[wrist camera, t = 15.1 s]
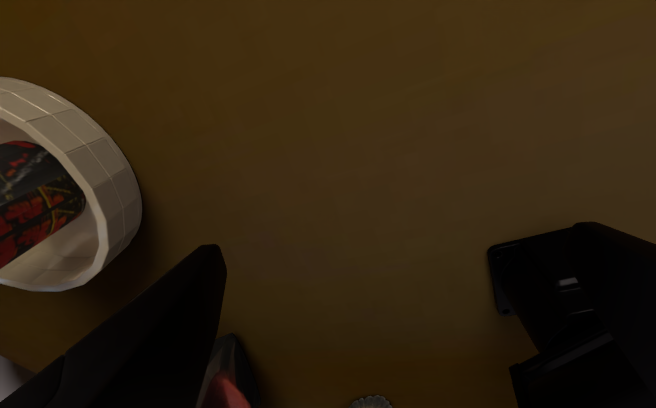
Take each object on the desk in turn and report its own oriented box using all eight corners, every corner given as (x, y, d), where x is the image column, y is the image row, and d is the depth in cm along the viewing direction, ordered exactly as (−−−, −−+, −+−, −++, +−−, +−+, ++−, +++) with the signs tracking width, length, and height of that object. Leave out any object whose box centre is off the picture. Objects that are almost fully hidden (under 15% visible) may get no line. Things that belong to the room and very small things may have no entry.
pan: (179, 233, 22) (152, 265, 19) (45, 275, 25) (2, 308, 22) (43, 38, 17) (-26, 39, 14) (-110, 121, 20) (-196, 137, 17)
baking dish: (150, 389, 36) (101, 509, 28) (68, 293, 25) (-52, 446, 17) (275, 386, 36) (262, 506, 28) (247, 288, 25) (211, 440, 17)
